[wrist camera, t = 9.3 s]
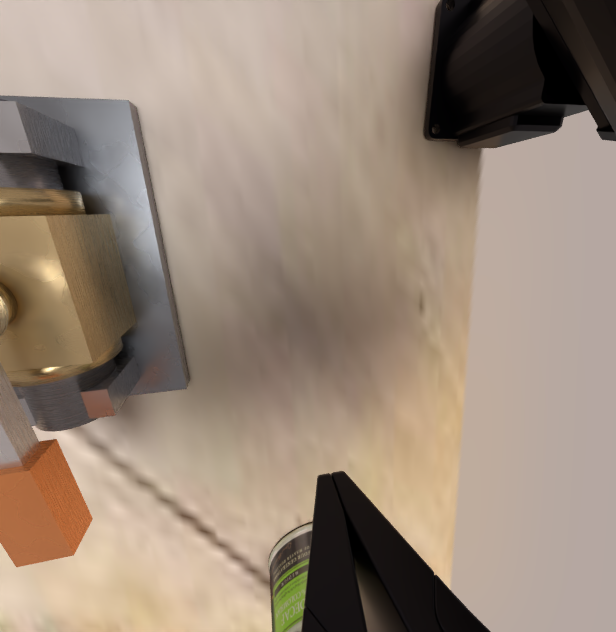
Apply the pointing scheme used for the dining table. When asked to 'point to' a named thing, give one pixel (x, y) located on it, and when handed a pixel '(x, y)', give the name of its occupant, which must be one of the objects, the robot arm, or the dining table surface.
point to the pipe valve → (82, 262)
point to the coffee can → (289, 579)
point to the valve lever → (34, 486)
